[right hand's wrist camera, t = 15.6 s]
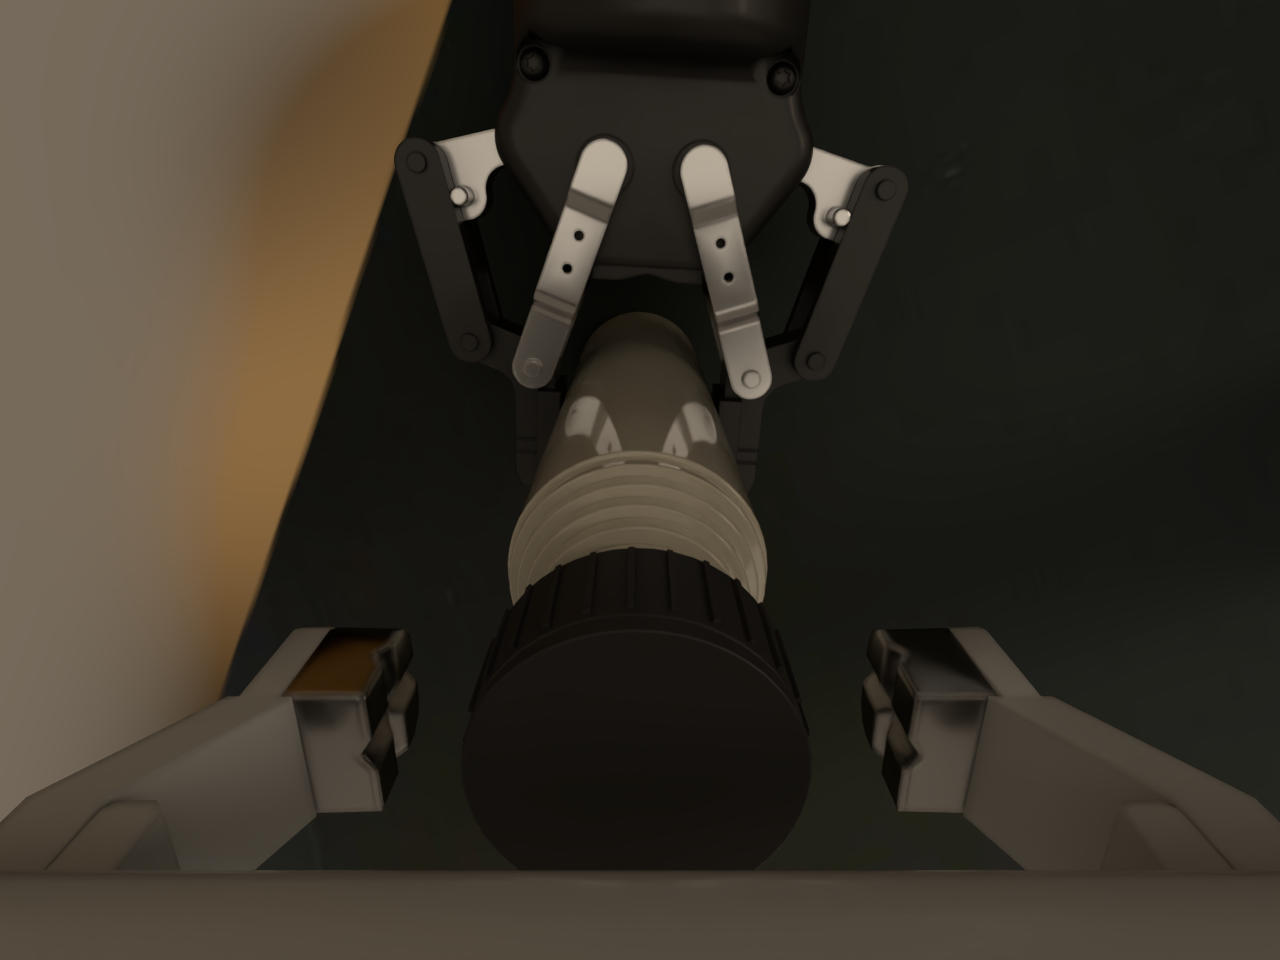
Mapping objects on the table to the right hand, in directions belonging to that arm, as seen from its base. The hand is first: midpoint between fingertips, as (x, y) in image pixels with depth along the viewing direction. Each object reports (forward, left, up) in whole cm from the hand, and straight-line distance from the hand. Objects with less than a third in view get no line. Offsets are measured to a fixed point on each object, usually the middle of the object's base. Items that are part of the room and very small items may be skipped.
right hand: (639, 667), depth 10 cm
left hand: (-2, -1, -13) cm, 13 cm away
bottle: (0, 0, -20) cm, 20 cm away
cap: (0, 0, +2) cm, 2 cm away
